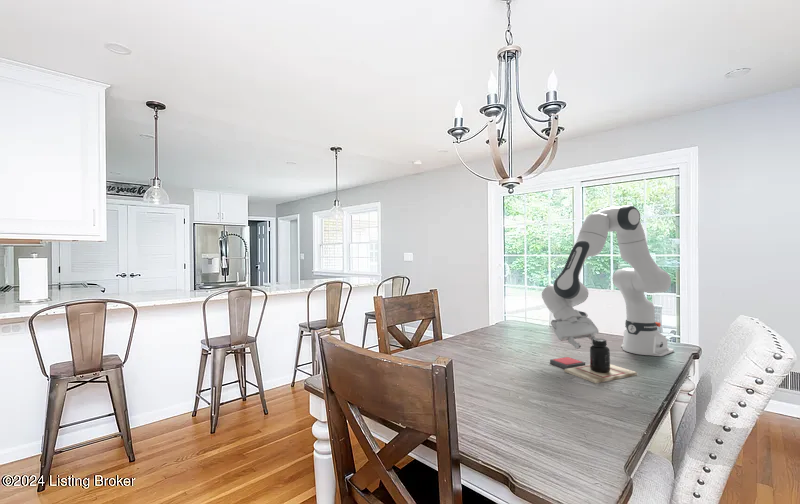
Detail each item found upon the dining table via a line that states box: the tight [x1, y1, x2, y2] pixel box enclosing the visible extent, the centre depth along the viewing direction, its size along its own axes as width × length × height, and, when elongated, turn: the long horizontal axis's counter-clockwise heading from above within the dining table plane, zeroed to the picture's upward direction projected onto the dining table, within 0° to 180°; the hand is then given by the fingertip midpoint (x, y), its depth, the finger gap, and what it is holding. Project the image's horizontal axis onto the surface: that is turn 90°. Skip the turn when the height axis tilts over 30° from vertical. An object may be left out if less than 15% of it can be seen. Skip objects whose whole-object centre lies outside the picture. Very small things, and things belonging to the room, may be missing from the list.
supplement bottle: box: [589, 337, 611, 373], centre depth 143 cm, size 7×7×12 cm
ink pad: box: [549, 356, 586, 370], centre depth 154 cm, size 10×9×2 cm
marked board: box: [564, 363, 638, 384], centre depth 143 cm, size 22×14×1 cm, turn 113°
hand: (587, 346), depth 149 cm, fingers open, 8 cm apart
